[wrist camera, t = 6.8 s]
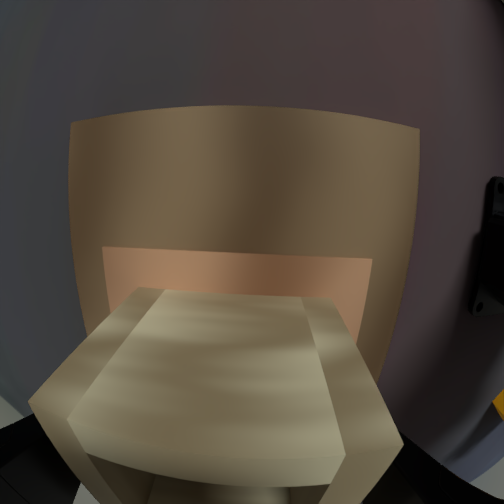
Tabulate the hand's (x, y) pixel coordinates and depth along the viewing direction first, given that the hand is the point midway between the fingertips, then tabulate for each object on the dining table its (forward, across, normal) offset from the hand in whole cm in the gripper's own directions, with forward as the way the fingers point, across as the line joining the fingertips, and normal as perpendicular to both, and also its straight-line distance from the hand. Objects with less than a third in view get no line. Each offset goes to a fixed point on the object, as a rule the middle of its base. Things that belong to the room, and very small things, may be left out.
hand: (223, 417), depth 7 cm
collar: (+2, 0, 0) cm, 2 cm away
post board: (+4, 0, 0) cm, 4 cm away
